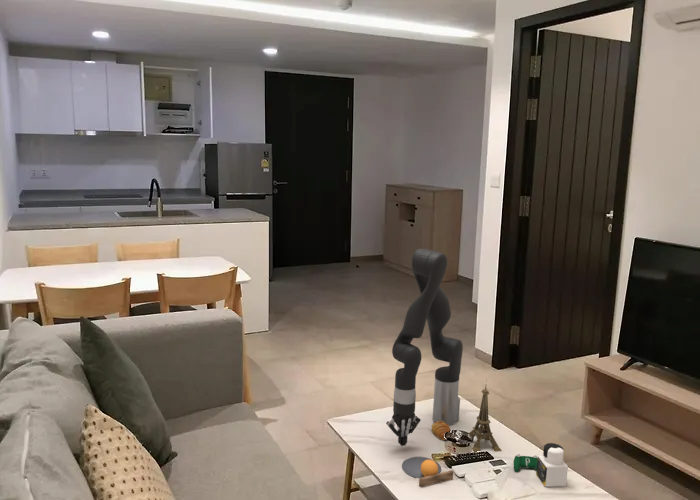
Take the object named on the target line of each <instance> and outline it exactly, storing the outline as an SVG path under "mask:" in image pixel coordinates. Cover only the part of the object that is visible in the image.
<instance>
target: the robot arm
mask: <svg viewBox="0 0 700 500" xmlns="http://www.w3.org/2000/svg"><path fill="white" fill-rule="evenodd" d="M447 267H448V257H447V256H446V255H445V254H444V253H442V252H439V251H435V250H431V249H428V248H417V249H416V250H415V251H414V253H413V254H412V257H411V269H412V273H413V276H414V278H415V281H416V284H417V286H418V290H419V293H420V295H418V296H417V298H416V299H414V301H413V302H412V303H411V305H409V307H408V309H407V311H406V314H405V317H404V322H403V325H402V327H401V328H402V329H401V330H400V332H399V333H398V336H397V337H396V338H395V341H394V342H393V344H392V345H393V346H392V350H391V353H392V354H391V355H392V357H393V359H394V360H396V361H398V362H400V363H401V364H403V367H400V368H398V369H396V371H395V374H394V375H395V376H394V377H395V379H394V390H393V404H392V405H393V406H392V407H393V410H392V411H393V412H392V413H393V415H392V416H391V418H392V419H391V420H389V421H386V426H388V428H389V429H390V430H391V432H392V433H393V434H394V435H396V437H398V438H397V439H398V440H397V441H398V444H399V445H400V446H401V447H405V446H407V444H408V436H409V435H410V434H412V433H414V431H415V429H416V428H417V427H418V425H419V424H420V422H421V419H420V417H418V416H417V415H416V413H415V412H416V397H417V396H416V395H417V393H416V383H417V382H416V381H417V379H416V377H417V373H418V371H419V368H420V365H421V362H422V358H423V357H422V351H421V350H420V348H419V347H418V346H417V345H414V344H411V343H412V341H413V340H414V339H419V338H422V336H423V333H424V330H425V326H426V323H427V326H428V331H429V338H430V347H431V353H432V356H433V357H434V358H435V360H438V361H441V362H442V361H443V362H447V363H449V364H448V365H447V366H440V367H438V368H437V369H436V370H435V372H434V388H433V389H434V390H433V403H432V405H433V406H432V407H433V408H432V420H433V422H434V423H435V422H437V421H443V422H445V424H448V425H449V426H451V425H454V424H456V423H457V422H459V421H460V410H461V409H460V405H461V398H460V397H459V387H460V374H461V369H462V368H461V367H462V361H463V360H462V359H463V358H462V357H463V351H464V347H463V343H462V342H463V341H462V340H460V339H458V338H453V337H450V336H444V334H443V329H444V328H445V327H446V325H447V324H448V323H449V321H450V319H451V316H452V312H451V311H452V310H451V306H450V302H449V298H448V297H447V294H446V293H445V292H444V291H443V289H442V288H441V287H440V286H441V284H442V281H443V279H444V277H445V275H446V271H447ZM395 425H396V426H395Z"/></svg>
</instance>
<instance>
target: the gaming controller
mask: <svg viewBox="0 0 700 500" xmlns="http://www.w3.org/2000/svg"><path fill="white" fill-rule="evenodd" d="M537 459H538V455H532V456H528V455H520V453H519V454H516V455H515V456H514V459H513V471H514V472H515V473H519V472H520V468H522V469H523V468H527V469H535V471H536V470H537Z"/></svg>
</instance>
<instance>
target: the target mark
mask: <svg viewBox="0 0 700 500" xmlns="http://www.w3.org/2000/svg"><path fill="white" fill-rule="evenodd" d="M425 460H433V461H434V462H436V464H437V466H438V473H442V466H441V465H440V463H439V462H438V461H436V460H435V459H432V458H429V457H424V456H413V457H408V458H406V459H405V460H403V462H402V464H401V468H402V471H403V472H404V473H405V474H406V475H408V476H410V477H413V478H415V479H419V478H422V477H425V476H424V475H423V474H422V472H421V464H422V463H423V462H424V461H425ZM438 473H437V474H438Z"/></svg>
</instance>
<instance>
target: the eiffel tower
mask: <svg viewBox="0 0 700 500" xmlns="http://www.w3.org/2000/svg"><path fill="white" fill-rule="evenodd" d="M485 381H488V380H487V379H486V380H485ZM481 393H482V398H481V403H480V409H479V413H478V416H476V420H477V421H476V423H475V425H474V427H472V430H471V431H469V432H468V434H470V435H471V436H472V437H473V438H475V437H476V441H475V443H474V444H473V446H472V448H471V449H473V451H474V452H477V451H481V443H482V441H483V440H484V441H485V442H486V441H489V442H490V444H491V447H490V448H491V449H492V450H493V452H495V453H496V452H502V451H503V450H502V449H501V447H500V446H499V445H498V443H497V441H496V439H495V437H494V436H493V432H492V431H491V430H492V429H491V427H490V424H491V420H490V419H489V402H488V401H489V399H488V395H490V390H488V389H487V385H485V388H483V389H482V391H481ZM481 452H482V451H481Z"/></svg>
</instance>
